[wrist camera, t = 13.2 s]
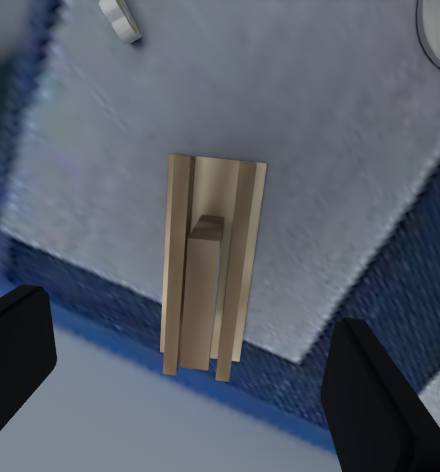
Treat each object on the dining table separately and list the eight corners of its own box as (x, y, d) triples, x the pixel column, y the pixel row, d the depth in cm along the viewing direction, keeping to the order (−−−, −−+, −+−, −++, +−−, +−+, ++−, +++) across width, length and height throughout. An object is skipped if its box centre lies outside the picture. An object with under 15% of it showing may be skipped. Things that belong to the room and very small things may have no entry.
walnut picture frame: (224, 216, 30) (220, 241, 22) (215, 315, 34) (208, 370, 25) (201, 214, 31) (187, 238, 22) (194, 313, 34) (180, 367, 25)
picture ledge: (264, 163, 31) (270, 164, 25) (239, 350, 37) (239, 383, 32) (173, 153, 31) (160, 153, 26) (163, 341, 38) (152, 372, 32)
